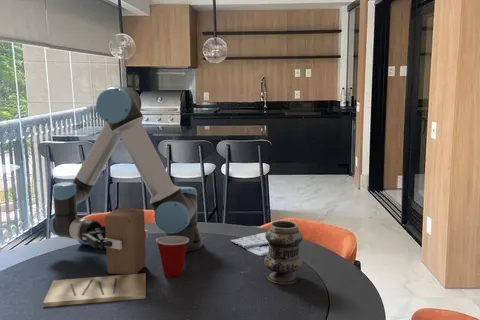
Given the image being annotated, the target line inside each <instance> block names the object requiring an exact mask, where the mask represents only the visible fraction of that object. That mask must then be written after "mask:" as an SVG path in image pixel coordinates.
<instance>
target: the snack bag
mask: <svg viewBox="0 0 480 320" xmlns="http://www.w3.org/2000/svg"><path fill="white" fill-rule="evenodd" d="M266 232H267V231H266ZM266 232H261V233H256V234H253V235H248V236H243V237H240V238H235V239H230V242H231V243H232V242H233V244H234V243H235V245H236V244H238V245H237V246H238V247H240V246H241V247H240V248H242V247H243V249H244V248H245V249H246V250H245V249H244V250H245V251H248V252H250V253H252V254H254V255H256V256H258V257H263V256H266V255H267V254H268V252H269V246H268V245H269V242H268V241H267V240H266V238H265V234H266ZM267 244H268V245H267ZM260 246H261V247H260Z"/></svg>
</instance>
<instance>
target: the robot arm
mask: <svg viewBox="0 0 480 320" xmlns="http://www.w3.org/2000/svg"><path fill="white" fill-rule="evenodd" d="M95 106H96V108H95V109H96V113H97V114H98V116H99V117H100V118H101V120H103V121H104V122H105V123H104V125H103V126H102V129H101V130H100V132H99V134H98V135H97V137H96V139H95V141H94V142H93V145H92V146H91V148H90V150H89V152H88V154H87V155H86V158H85V159H84V161H83V162H82V165H81V166H80V168H79V170H78V172H77V174H76V175H75V177H74V179H73V181H72V182H70V181H65V182H64V181H63V182H59V183H55V184H54V185H53V193H52V195H53V206H54V207H53V208H54V215H53V216H52V217H51V218H50V221H49V223H48V229H49V232H50V233H51V234H53V235H55V236H58V237H59V238H68V239H72V240H76V241H77V240H80V241H83V242H87V243H88V244H90V245H91V247H92V248H94V249H98V248H99V247H98V246H100V248H99V249H100V250H105V249H104V246H105V247H110V248H114V249H119V250H121V249H122V241H120V240H115V239H110V238H106V231H105V225H102V224H101V223H100V222H99V221H97V220H92V219H87V218H83V217H82V218H81V217H78V205H79V204H80V203H83V201H86V200H88V199H89V198H90V196H91V195H93V192H94V187H95V184H96V183H97V181H98V179H99V177H100V176H101V175H102V172H103V171H104V169H105V168H106V165H107V163H108V162H109V160H110V158H111V156H112V155H113V153H114V151H115V149H116V147H117V146H118V145H119V142H120V141H122V143H123V145H124V147H125V148H126V151H127V152H128V154H129V156H130V158H131V160H132V162H133V164H134V167H136V169H137V171H138V173H139V175H140V177H141V179H142V181H143V183H144V185H145V187H146V189H147V191H148V193H149V194H150V196H151V197H150V200H149V204H150V206H151V207H152V208H151V209H152V210H153V211H154V216H153V217H154V222H155V224H156V226H157V227H158V229H160V230H161V231H162V232H164V235H163V237H164V236H183V237H187V238H189V242H188V244H187V248H186V253H189V252H194V251H198V250H199V249H201V248H202V246H203V239H202V235H201V233H200V229H199V227H198V192H197V191H198V190H197V189H196V188H195V187H193V186H192V187H191V186H177V185H175V184H174V182H173V181H172V179H171V177H170V175H169V173H168V171H167V170H166V167H165V166H164V163H163V161H162V159H161V158H160V156H159V154H158V152H157V150H156V148H155V146H154V145H153V142H152V140H151V138H150V135H148V133H147V131H146V128H145V127H144V124H143V120H144V115H143V113H142V111H141V109H142V106H143V105H142V99H141V97H140V95H139V93H138V92H137V91H136V89H134V88H131V87H128V86H127V87H126V86H111V87H109V88H106V89H105V90H103V91H101V92H100V94H99V95H98V97H97V99H96V104H95ZM148 231H149V230H147V229H145V240H146V239H148V238H149V237H148V236H149V235H148V234H149V233H148ZM104 238H105V240H104Z"/></svg>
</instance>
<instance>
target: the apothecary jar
mask: <svg viewBox="0 0 480 320" xmlns="http://www.w3.org/2000/svg"><path fill="white" fill-rule="evenodd" d="M265 238H266V240H267V241H268V242H269V244H268V245H269V252H268V254H267V255H265V257H264V260H263V261H264V265H265V267H266V268H267V269H268V270H270V271H272V272H270V273H269V274H268V275H267V280H268V281H269V282H271V283H274V284H276V285H292V284H295V283H297V281H299V278H300V277H299V276H298V275H297V274H296V273H294V272H296V271H299V269H301V268H302V266H303V258H301V256H300V255H299V253H300V252H299V251H300V250H299V249H300V246H299V245H300V243H302V241H303V239H304V235H303V233H302V232H301V230H300V229H299V226H298V223H296V222H295V221H292V220H274V221H273V222H271V223H270V227H269V229H268V230H266V234H265Z"/></svg>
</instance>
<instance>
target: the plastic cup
mask: <svg viewBox="0 0 480 320" xmlns="http://www.w3.org/2000/svg"><path fill="white" fill-rule="evenodd" d="M155 241H156V244H157V246H158V250H159V255H160V256H159V257H160V261H161V265H162V271H163V274H164V277H165V276H166V277H168V278H177V277H180V276H182V274H183V271H184V264H185V258H186V253H187V252H186V248H187V244H188V242H189V238H187V237H183V236H164V235H163V236H160V237H157V238H156V239H155Z"/></svg>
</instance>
